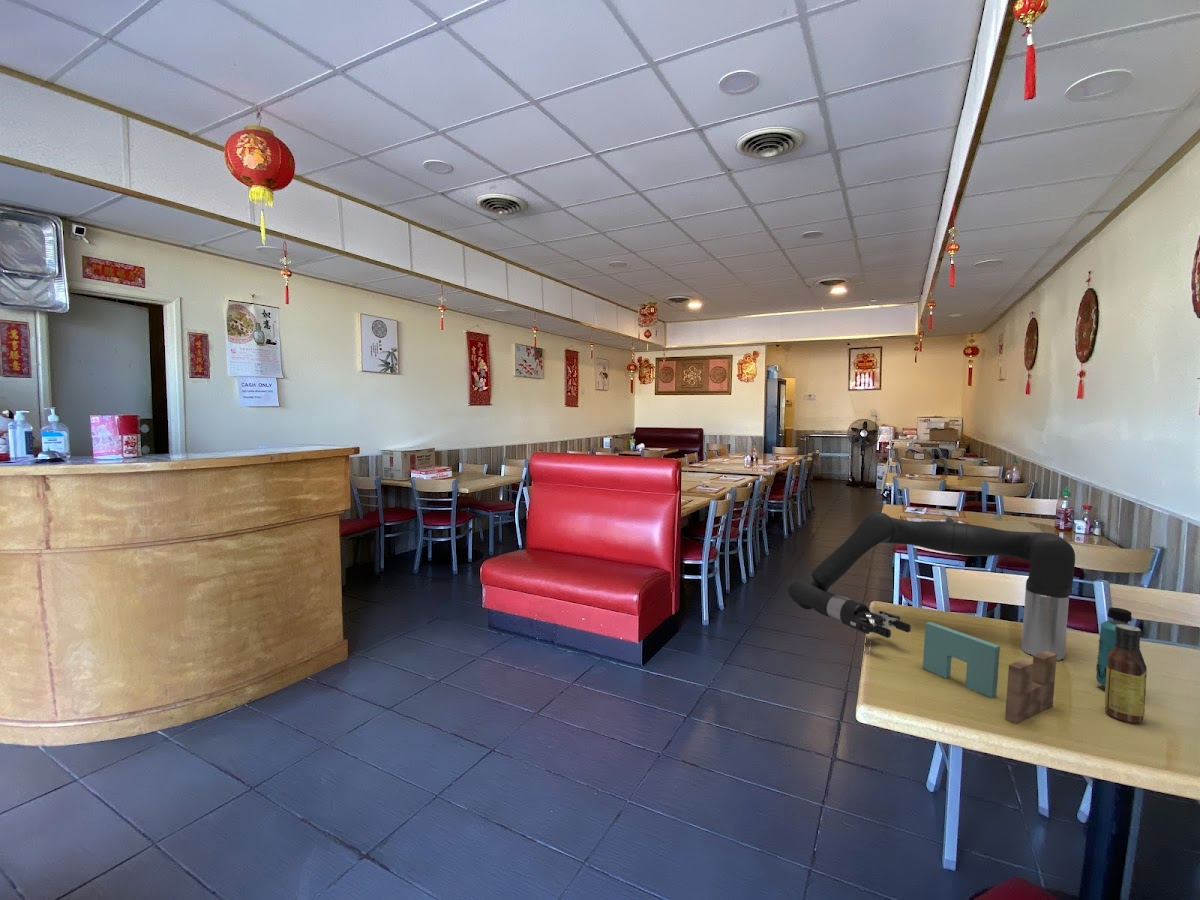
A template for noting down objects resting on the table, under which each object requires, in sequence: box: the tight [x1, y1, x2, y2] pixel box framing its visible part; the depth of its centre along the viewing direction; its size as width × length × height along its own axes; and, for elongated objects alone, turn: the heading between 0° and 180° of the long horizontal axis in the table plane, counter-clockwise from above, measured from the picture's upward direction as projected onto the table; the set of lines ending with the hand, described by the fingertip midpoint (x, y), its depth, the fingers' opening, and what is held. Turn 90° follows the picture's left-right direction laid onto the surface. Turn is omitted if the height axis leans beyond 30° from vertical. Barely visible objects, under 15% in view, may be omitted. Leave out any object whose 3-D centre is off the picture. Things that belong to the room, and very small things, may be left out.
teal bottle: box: [1095, 607, 1133, 687], centre depth 128 cm, size 6×7×20 cm
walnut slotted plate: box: [1004, 651, 1057, 724], centre depth 118 cm, size 16×2×12 cm, turn 118°
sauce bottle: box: [1104, 624, 1148, 724], centre depth 117 cm, size 7×6×20 cm
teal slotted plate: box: [922, 621, 1001, 699], centre depth 131 cm, size 16×2×12 cm, turn 28°
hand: (900, 631), depth 145 cm, fingers open, 8 cm apart
